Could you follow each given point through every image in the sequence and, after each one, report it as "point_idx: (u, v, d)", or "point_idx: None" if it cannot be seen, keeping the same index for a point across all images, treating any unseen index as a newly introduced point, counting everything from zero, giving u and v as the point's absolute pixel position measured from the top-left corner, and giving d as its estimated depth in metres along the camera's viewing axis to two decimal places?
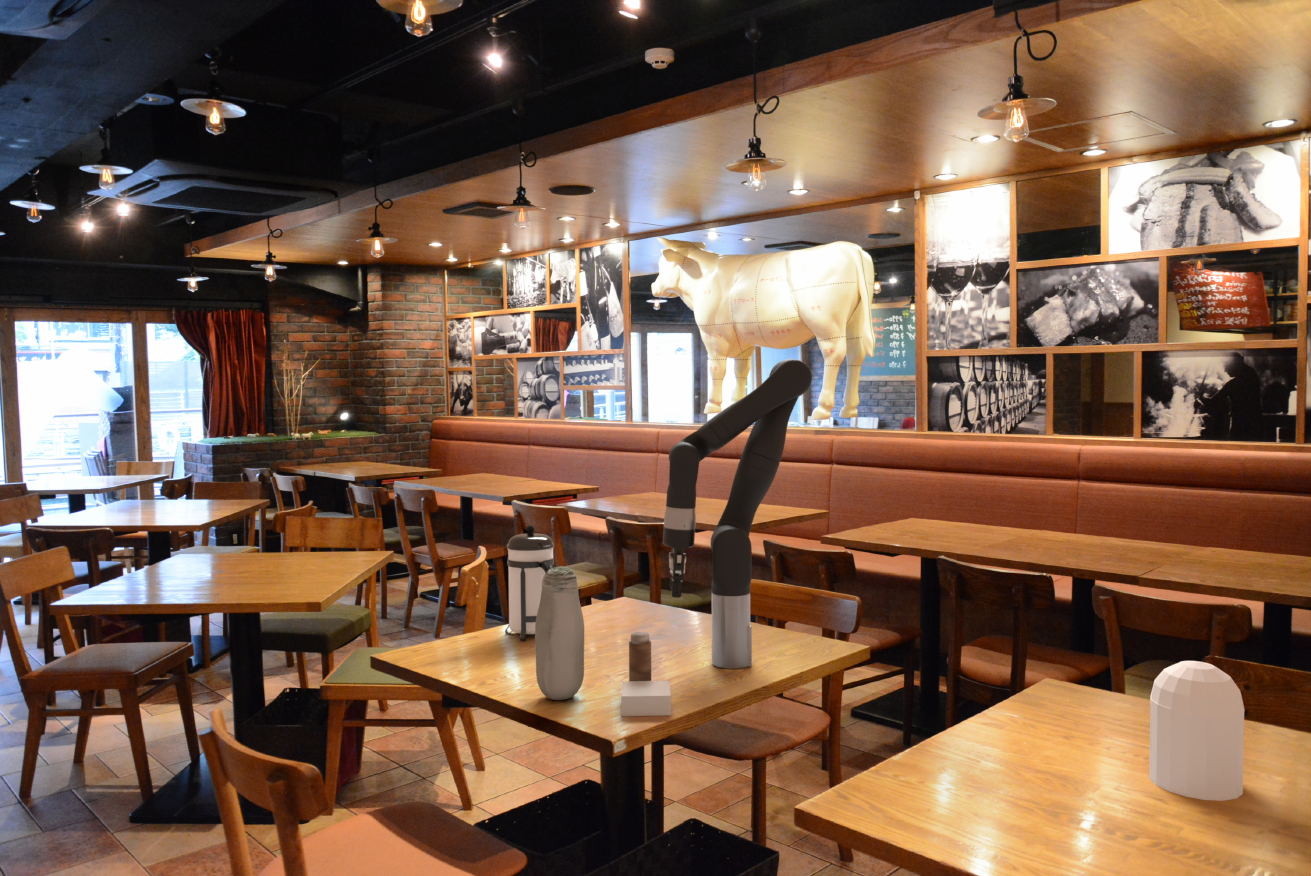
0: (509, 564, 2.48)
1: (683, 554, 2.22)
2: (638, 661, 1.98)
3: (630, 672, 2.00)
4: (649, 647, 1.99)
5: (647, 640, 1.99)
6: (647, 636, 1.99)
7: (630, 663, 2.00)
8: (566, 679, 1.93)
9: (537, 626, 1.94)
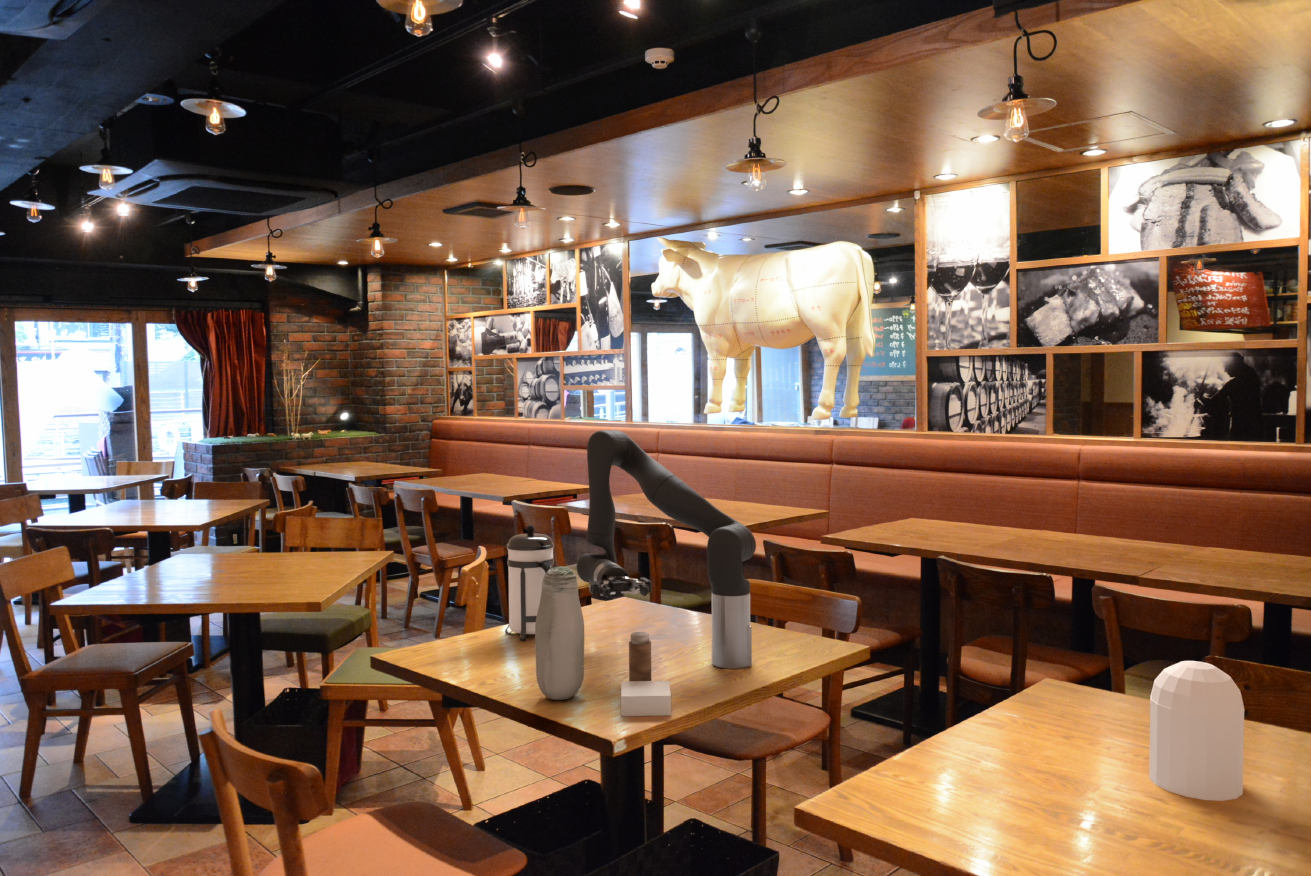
0: (509, 564, 2.48)
1: (621, 578, 2.20)
2: (638, 661, 1.98)
3: (630, 672, 2.00)
4: (649, 647, 1.99)
5: (647, 640, 1.99)
6: (647, 636, 1.99)
7: (630, 663, 2.00)
8: (566, 679, 1.93)
9: (537, 626, 1.94)
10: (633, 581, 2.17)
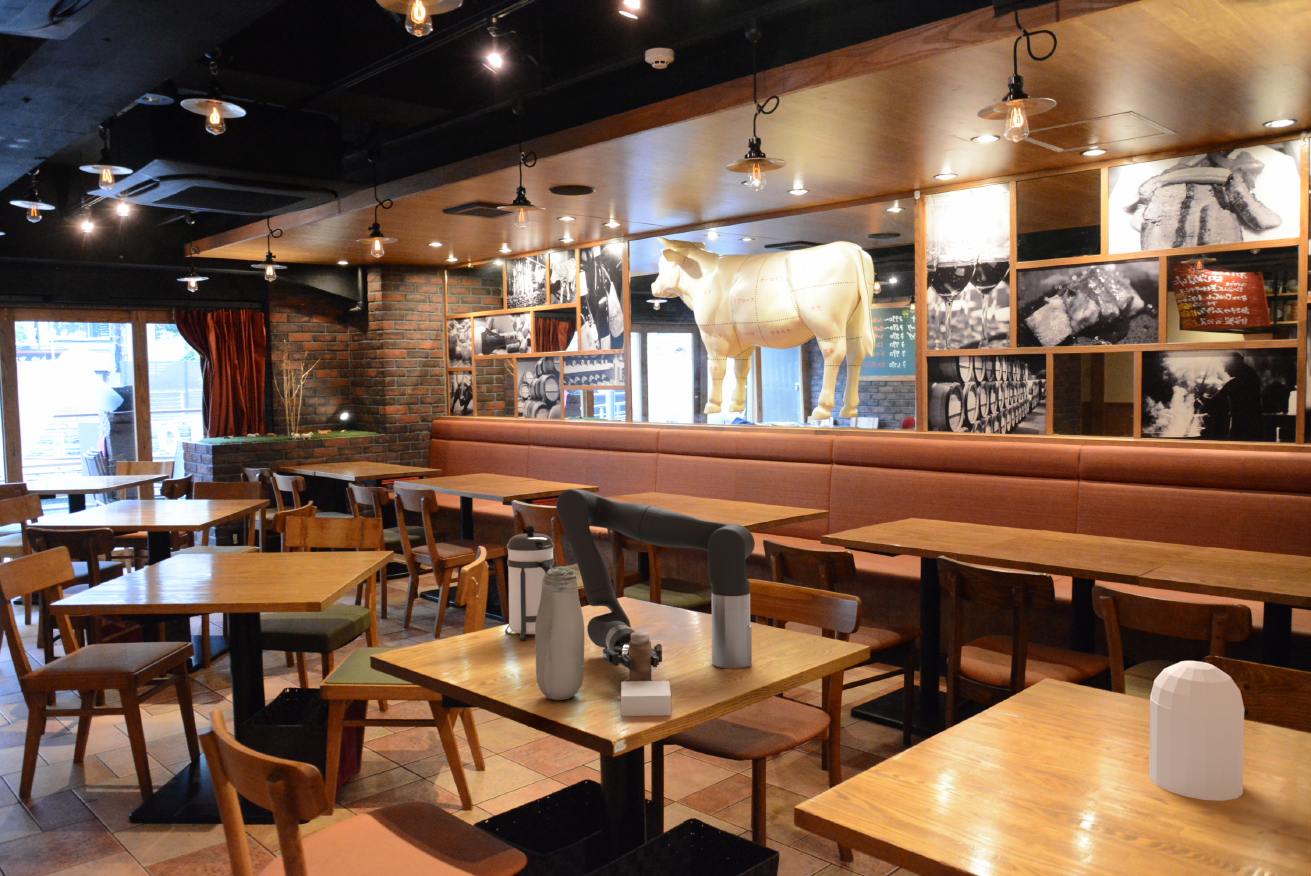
0: (509, 564, 2.48)
1: None
2: (638, 661, 1.98)
3: (630, 672, 2.00)
4: (649, 647, 1.99)
5: (647, 640, 1.99)
6: (647, 636, 1.99)
7: None
8: (566, 679, 1.93)
9: (537, 626, 1.94)
10: None
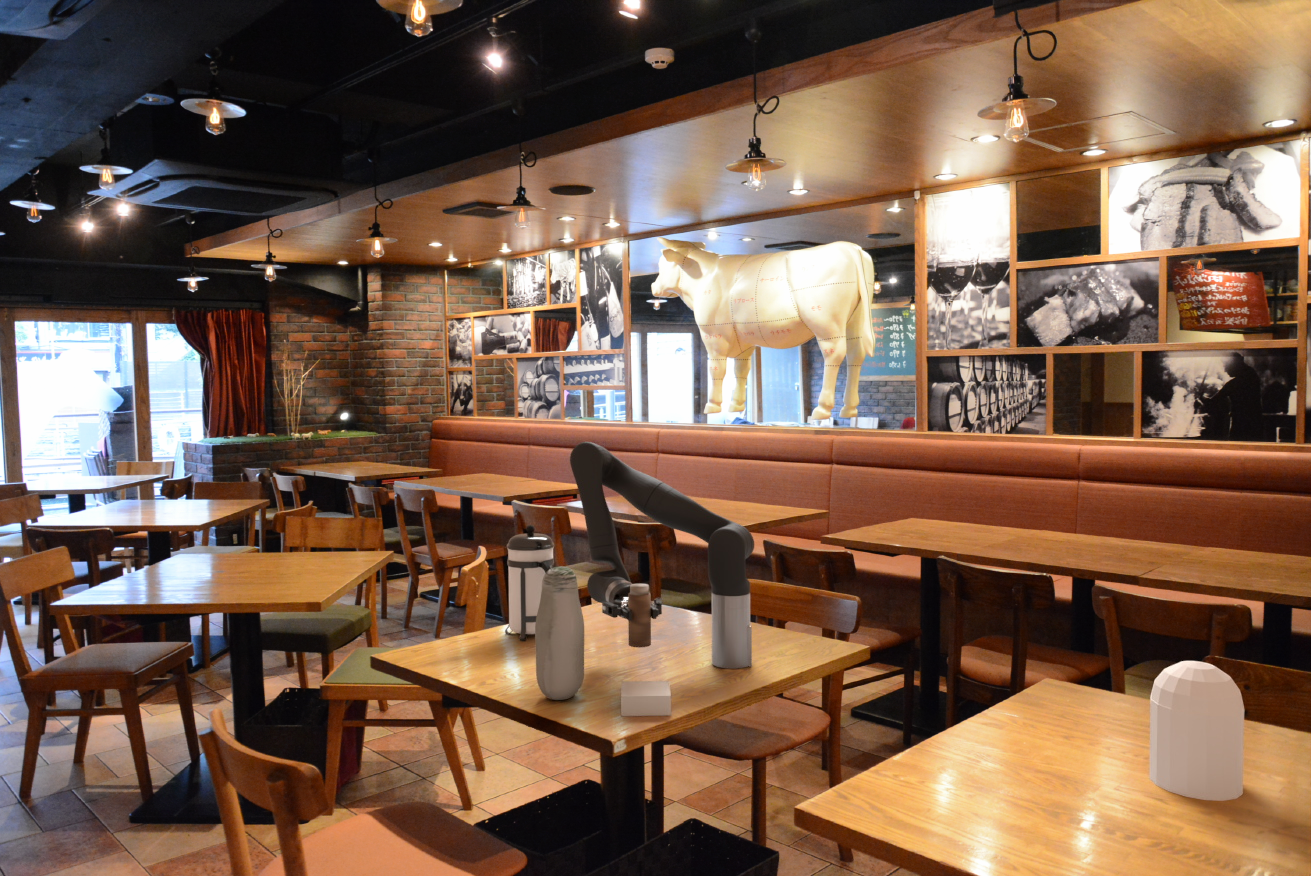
0: (509, 564, 2.48)
1: None
2: (638, 612, 1.97)
3: (629, 623, 1.98)
4: (648, 598, 1.98)
5: (646, 591, 1.98)
6: (646, 587, 1.98)
7: None
8: (566, 679, 1.93)
9: (537, 626, 1.94)
10: None
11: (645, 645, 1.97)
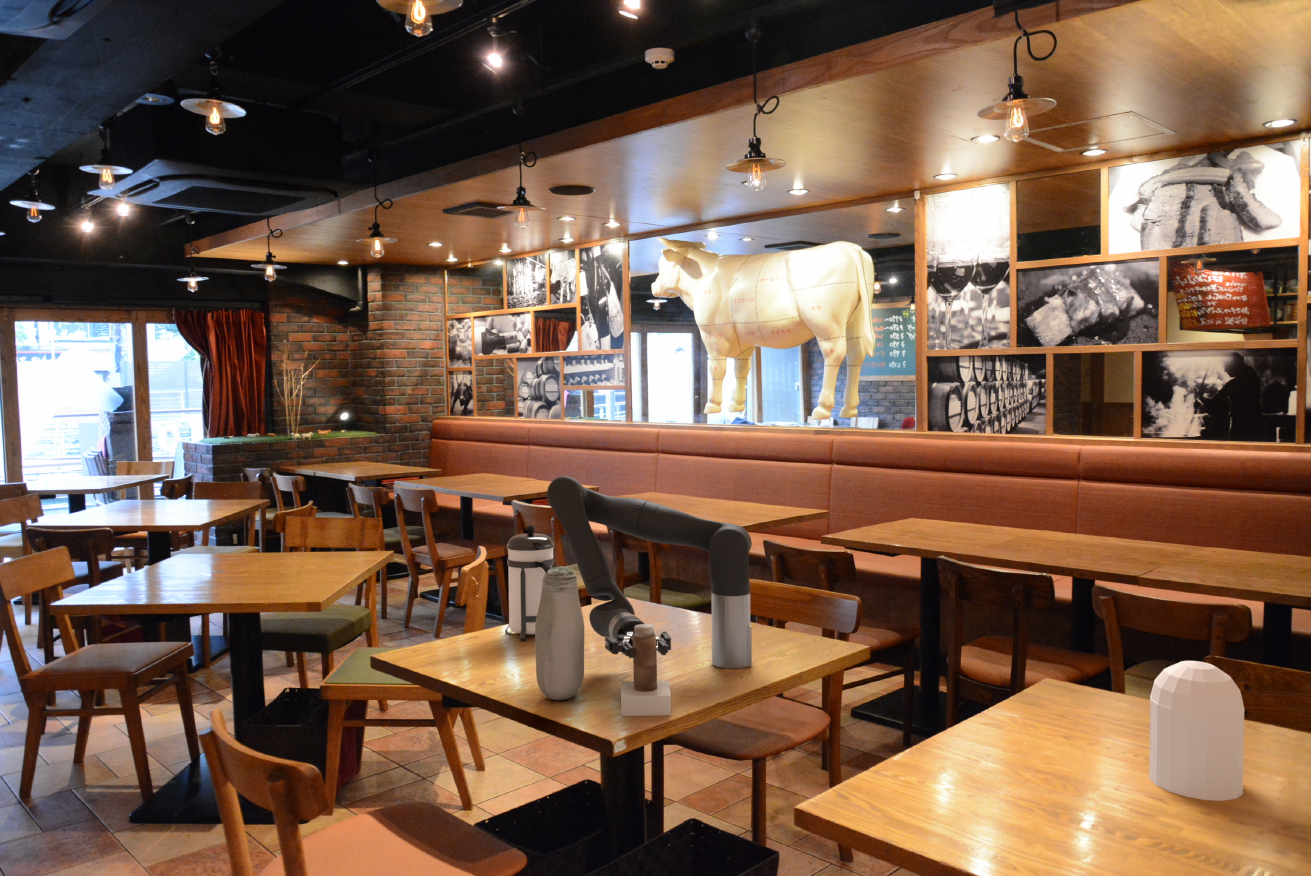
0: (509, 564, 2.48)
1: None
2: (643, 655, 1.88)
3: (634, 667, 1.90)
4: (654, 640, 1.89)
5: (652, 633, 1.89)
6: (652, 629, 1.89)
7: (634, 657, 1.89)
8: (566, 679, 1.93)
9: (537, 626, 1.94)
10: None
11: (651, 689, 1.89)
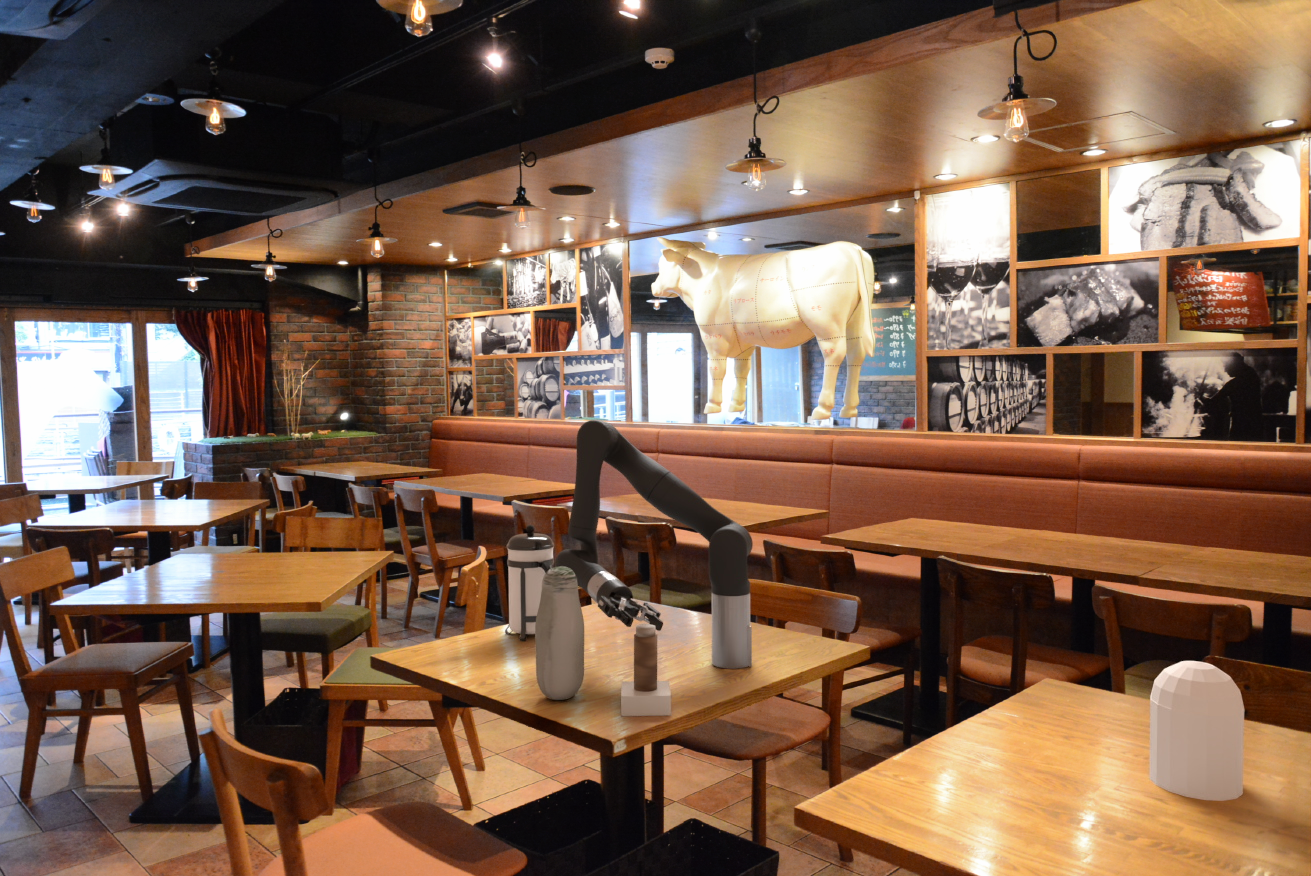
0: (509, 564, 2.48)
1: (629, 600, 2.12)
2: (644, 654, 1.88)
3: (635, 666, 1.90)
4: (655, 640, 1.89)
5: (653, 633, 1.89)
6: (653, 629, 1.89)
7: (635, 657, 1.90)
8: (566, 679, 1.93)
9: (537, 626, 1.94)
10: (644, 609, 2.11)
11: (651, 689, 1.89)
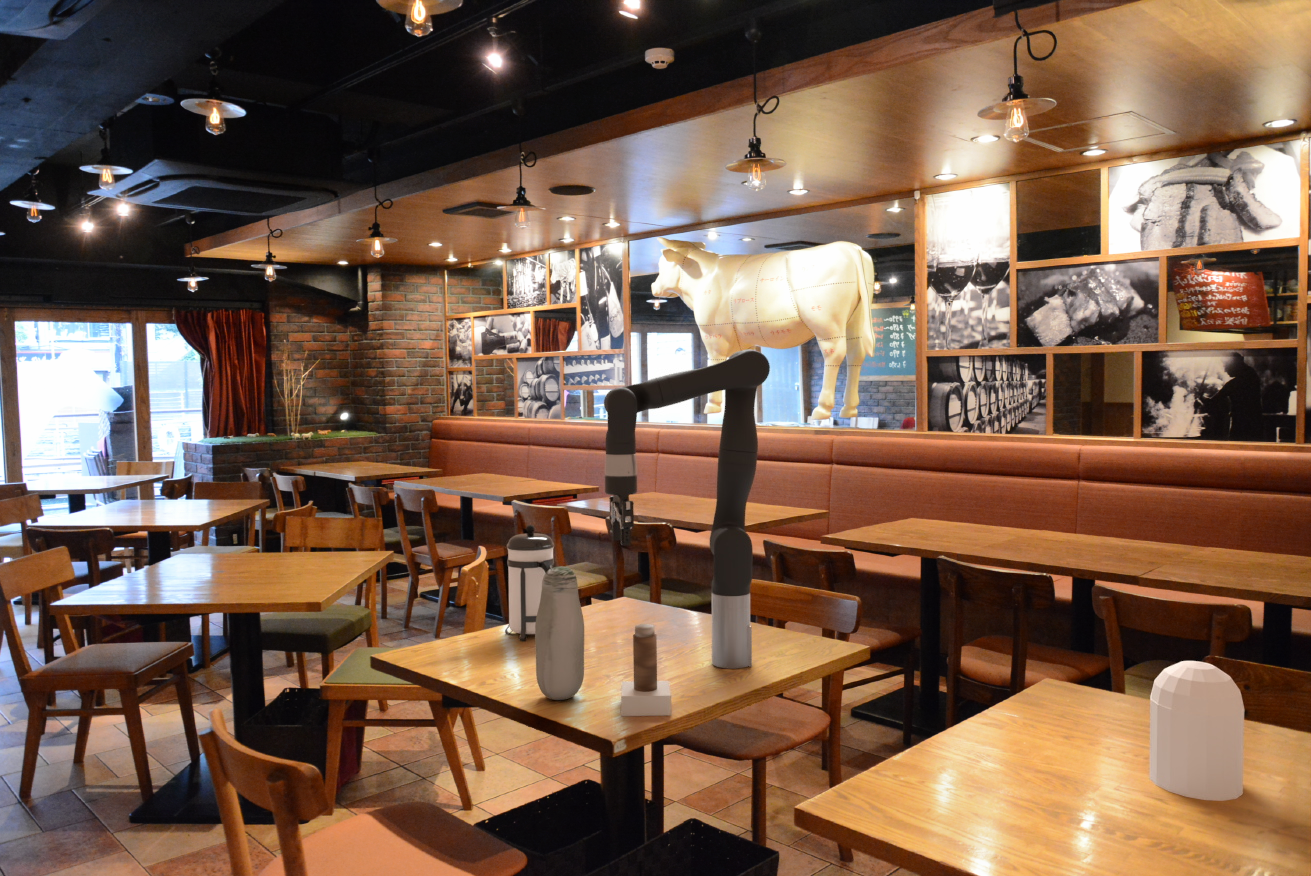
0: (509, 564, 2.48)
1: None
2: (643, 655, 1.88)
3: (634, 666, 1.90)
4: (654, 640, 1.89)
5: (652, 633, 1.89)
6: (652, 629, 1.89)
7: (634, 657, 1.89)
8: (566, 679, 1.93)
9: (537, 626, 1.94)
10: None
11: (651, 689, 1.89)
